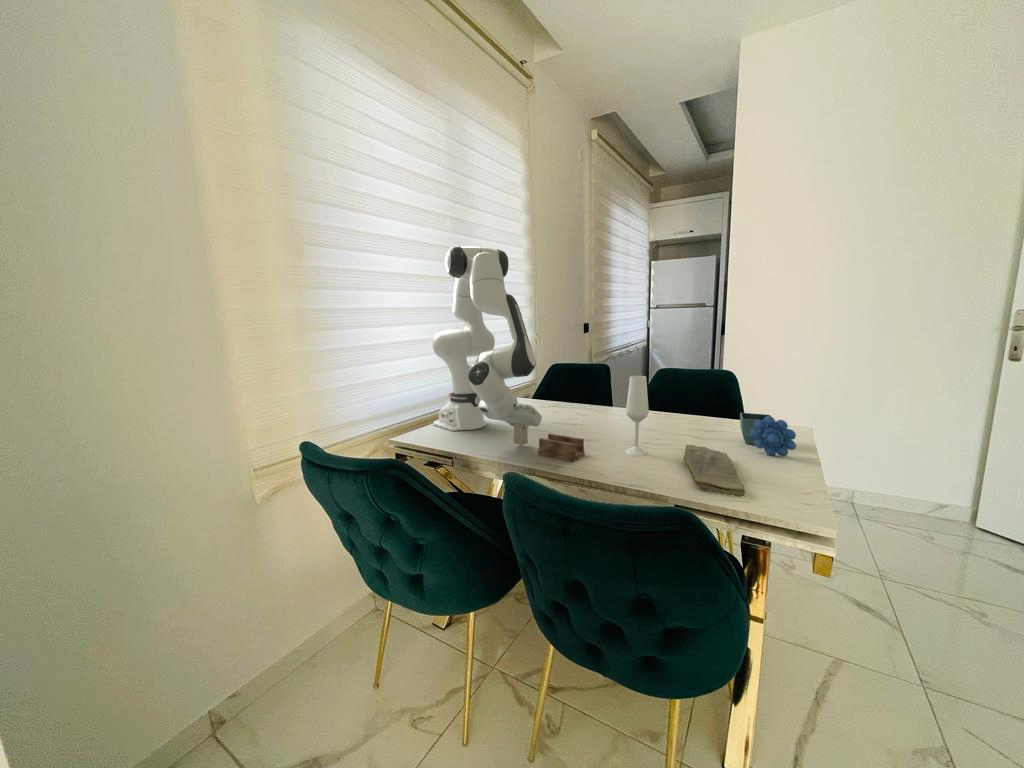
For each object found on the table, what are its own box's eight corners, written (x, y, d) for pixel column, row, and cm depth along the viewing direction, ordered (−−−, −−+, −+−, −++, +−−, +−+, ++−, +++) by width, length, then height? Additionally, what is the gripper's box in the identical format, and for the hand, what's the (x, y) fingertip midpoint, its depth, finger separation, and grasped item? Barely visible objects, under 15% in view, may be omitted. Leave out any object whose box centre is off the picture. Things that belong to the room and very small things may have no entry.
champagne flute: (647, 456, 119) (649, 378, 115) (624, 454, 121) (626, 378, 118) (647, 449, 125) (649, 375, 122) (625, 448, 128) (627, 375, 124)
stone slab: (724, 446, 119) (750, 482, 91) (723, 459, 119) (748, 499, 91) (679, 442, 123) (691, 476, 94) (679, 455, 123) (690, 492, 95)
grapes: (748, 457, 117) (751, 417, 115) (748, 450, 122) (751, 412, 120) (796, 463, 111) (800, 422, 109) (794, 456, 116) (797, 416, 114)
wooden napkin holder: (538, 455, 123) (538, 439, 122) (551, 448, 130) (550, 433, 129) (573, 462, 116) (573, 445, 115) (584, 454, 123) (584, 438, 122)
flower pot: (772, 448, 123) (774, 420, 122) (740, 445, 127) (741, 418, 126) (768, 440, 131) (770, 414, 130) (737, 437, 135) (739, 412, 133)
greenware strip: (514, 443, 131) (513, 414, 130) (519, 441, 134) (518, 412, 132) (522, 445, 129) (522, 415, 128) (527, 442, 132) (527, 413, 130)
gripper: (534, 397, 117) (551, 422, 126) (481, 391, 128) (500, 414, 138) (527, 415, 114) (544, 439, 123) (473, 407, 125) (492, 429, 135)
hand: (520, 425), depth 131 cm, fingers closed on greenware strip, 3 cm apart
